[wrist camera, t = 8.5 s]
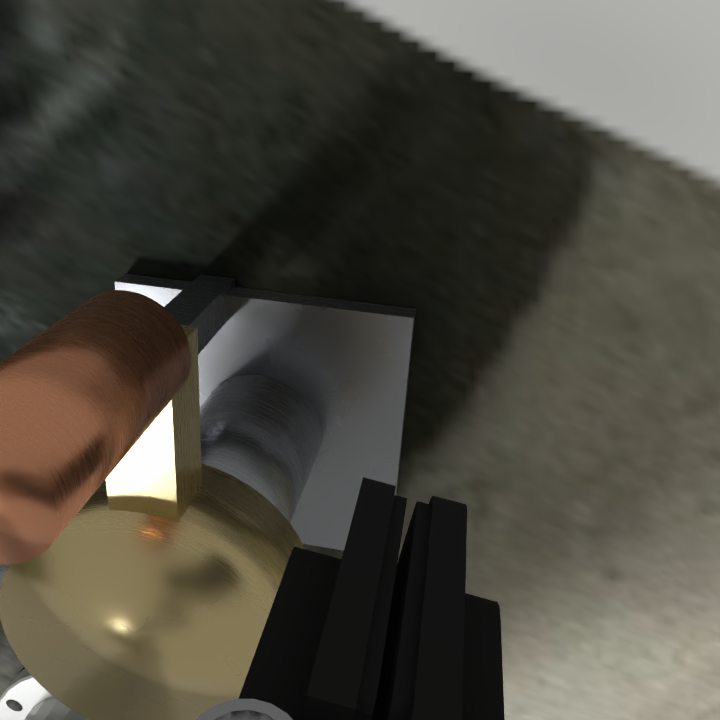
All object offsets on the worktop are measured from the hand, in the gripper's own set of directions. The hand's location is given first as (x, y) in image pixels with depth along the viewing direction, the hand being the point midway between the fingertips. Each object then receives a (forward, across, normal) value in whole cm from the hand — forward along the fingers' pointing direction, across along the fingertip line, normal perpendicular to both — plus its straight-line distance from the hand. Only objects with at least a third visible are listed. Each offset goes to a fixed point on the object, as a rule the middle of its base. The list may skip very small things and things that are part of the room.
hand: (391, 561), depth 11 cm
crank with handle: (+5, +5, +4) cm, 8 cm away
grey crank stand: (+13, +5, +6) cm, 15 cm away
